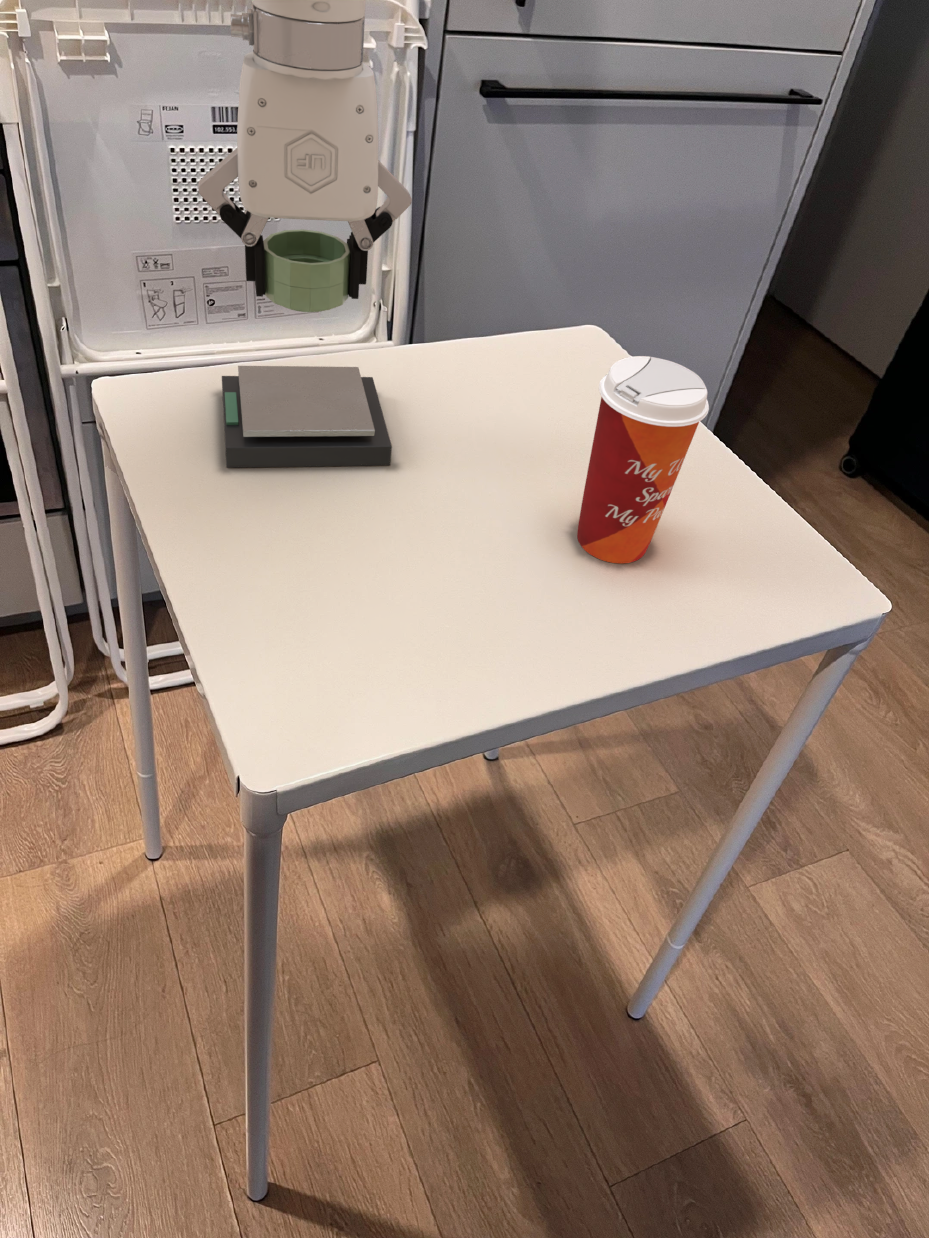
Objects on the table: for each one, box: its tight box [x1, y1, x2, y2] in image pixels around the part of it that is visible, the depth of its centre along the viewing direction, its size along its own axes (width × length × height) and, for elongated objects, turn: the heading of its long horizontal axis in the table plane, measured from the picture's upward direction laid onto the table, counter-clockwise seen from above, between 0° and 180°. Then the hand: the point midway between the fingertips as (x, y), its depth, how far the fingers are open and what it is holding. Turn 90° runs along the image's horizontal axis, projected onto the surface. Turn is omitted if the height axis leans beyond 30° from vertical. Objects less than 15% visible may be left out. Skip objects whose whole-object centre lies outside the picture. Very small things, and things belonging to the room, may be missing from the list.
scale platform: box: [237, 365, 375, 437], centre depth 84 cm, size 11×11×1 cm
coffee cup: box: [576, 355, 710, 564], centre depth 74 cm, size 8×8×15 cm
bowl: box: [263, 228, 350, 313], centre depth 76 cm, size 7×7×4 cm
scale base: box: [221, 375, 393, 469], centre depth 85 cm, size 14×12×2 cm
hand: (306, 289), depth 77 cm, fingers closed on bowl, 6 cm apart
